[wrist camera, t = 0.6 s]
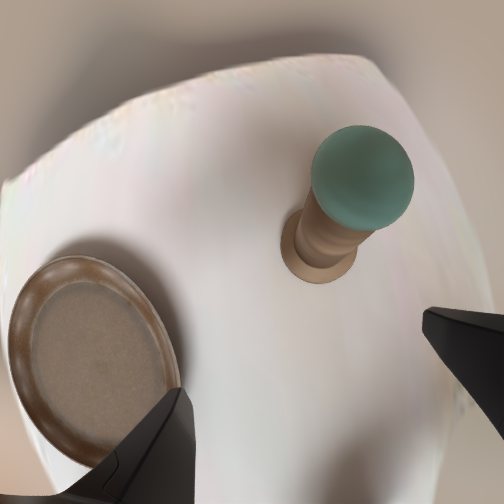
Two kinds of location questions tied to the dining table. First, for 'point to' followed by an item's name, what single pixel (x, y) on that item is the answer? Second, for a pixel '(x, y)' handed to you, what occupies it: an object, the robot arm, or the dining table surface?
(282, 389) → the dining table surface
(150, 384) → the plant saucer
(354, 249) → the bead column
